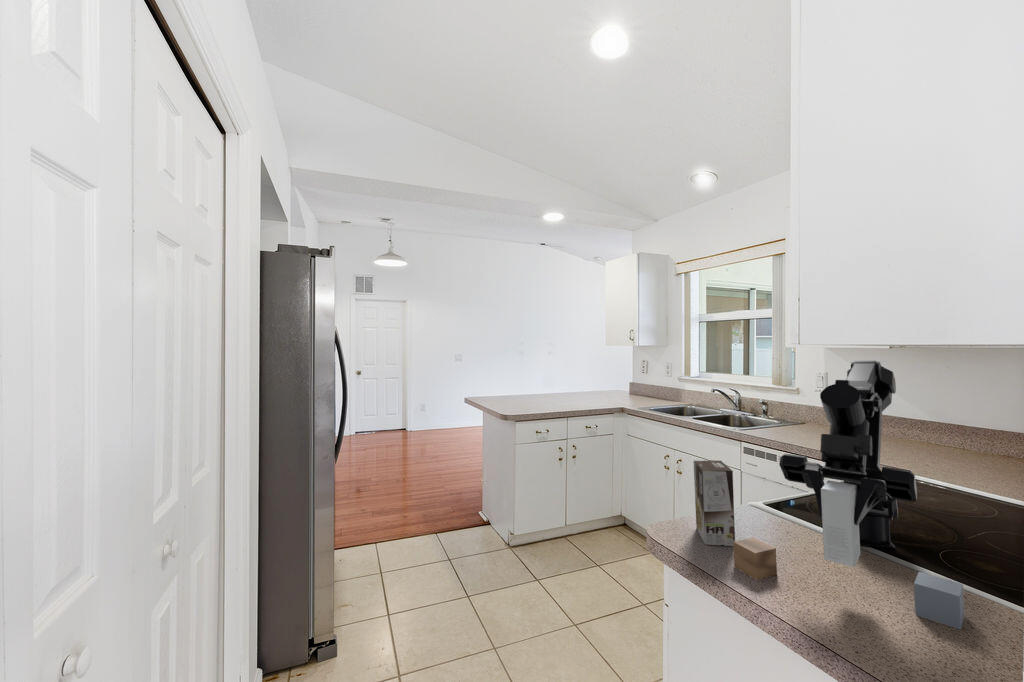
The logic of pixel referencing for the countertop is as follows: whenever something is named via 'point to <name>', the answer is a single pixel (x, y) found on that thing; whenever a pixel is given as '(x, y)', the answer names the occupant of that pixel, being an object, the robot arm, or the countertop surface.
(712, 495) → the coffee box
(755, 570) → the walnut block
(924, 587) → the slate block
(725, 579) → the countertop surface
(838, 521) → the skincare box
